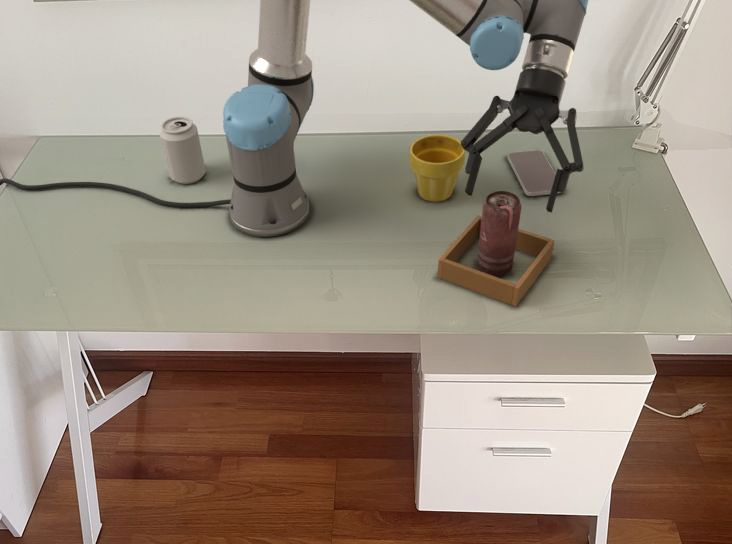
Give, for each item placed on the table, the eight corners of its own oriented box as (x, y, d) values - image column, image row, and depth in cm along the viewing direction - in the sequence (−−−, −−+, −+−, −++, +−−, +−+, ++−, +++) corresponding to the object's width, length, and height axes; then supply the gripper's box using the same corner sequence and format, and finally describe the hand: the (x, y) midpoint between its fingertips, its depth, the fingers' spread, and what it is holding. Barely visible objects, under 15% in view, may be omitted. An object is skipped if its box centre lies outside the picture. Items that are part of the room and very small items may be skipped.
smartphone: (541, 149, 156) (565, 189, 145) (541, 153, 156) (564, 193, 146) (506, 152, 155) (527, 193, 145) (505, 156, 156) (526, 197, 145)
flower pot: (459, 209, 144) (463, 164, 137) (405, 205, 146) (406, 161, 139) (464, 179, 151) (467, 135, 144) (412, 176, 153) (413, 132, 146)
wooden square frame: (437, 277, 130) (438, 259, 128) (476, 233, 139) (477, 214, 136) (515, 306, 124) (518, 288, 121) (551, 258, 132) (555, 240, 130)
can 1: (213, 171, 157) (203, 119, 149) (190, 190, 153) (178, 136, 145) (186, 162, 161) (174, 110, 152) (162, 180, 156) (149, 127, 148)
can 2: (491, 284, 129) (499, 216, 119) (469, 263, 133) (476, 196, 123) (520, 272, 130) (531, 204, 120) (498, 252, 134) (506, 185, 124)
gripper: (466, 55, 124) (431, 182, 126) (622, 78, 116) (583, 213, 118) (473, 72, 131) (440, 192, 133) (621, 94, 123) (585, 222, 125)
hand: (507, 202), depth 125 cm, fingers open, 13 cm apart
